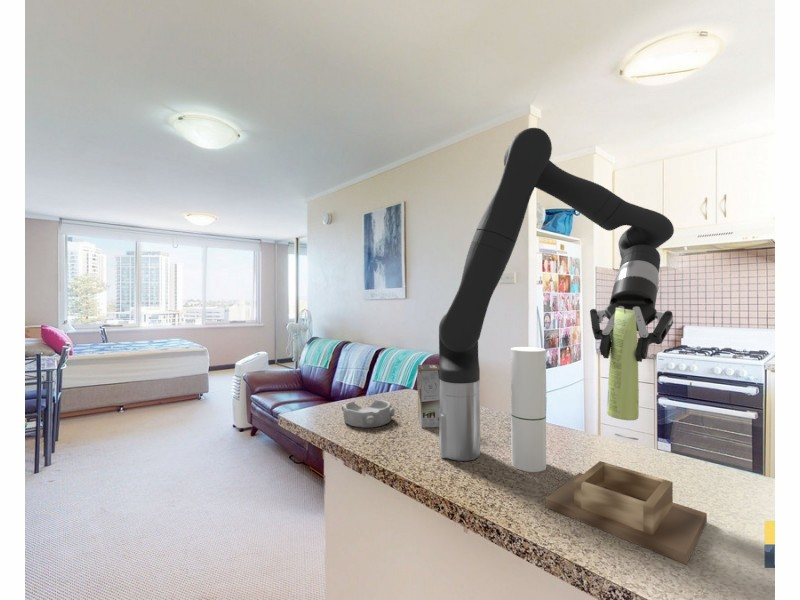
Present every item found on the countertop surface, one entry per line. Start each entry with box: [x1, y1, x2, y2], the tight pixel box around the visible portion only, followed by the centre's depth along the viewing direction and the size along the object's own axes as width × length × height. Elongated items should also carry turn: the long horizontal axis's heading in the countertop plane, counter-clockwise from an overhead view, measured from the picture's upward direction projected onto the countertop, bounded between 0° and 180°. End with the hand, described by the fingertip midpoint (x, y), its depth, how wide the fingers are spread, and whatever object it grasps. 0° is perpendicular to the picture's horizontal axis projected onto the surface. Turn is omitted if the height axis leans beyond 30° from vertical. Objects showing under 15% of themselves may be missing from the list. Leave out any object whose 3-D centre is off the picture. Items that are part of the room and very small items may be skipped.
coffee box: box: [416, 363, 440, 429], centre depth 113 cm, size 9×6×16 cm
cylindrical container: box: [510, 346, 547, 473], centre depth 84 cm, size 7×7×25 cm
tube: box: [606, 308, 640, 421], centre depth 70 cm, size 6×5×20 cm
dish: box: [341, 399, 395, 428], centre depth 115 cm, size 14×14×5 cm
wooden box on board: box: [545, 460, 708, 565], centre depth 65 cm, size 20×14×6 cm
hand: (621, 356), depth 69 cm, fingers closed on tube, 4 cm apart
